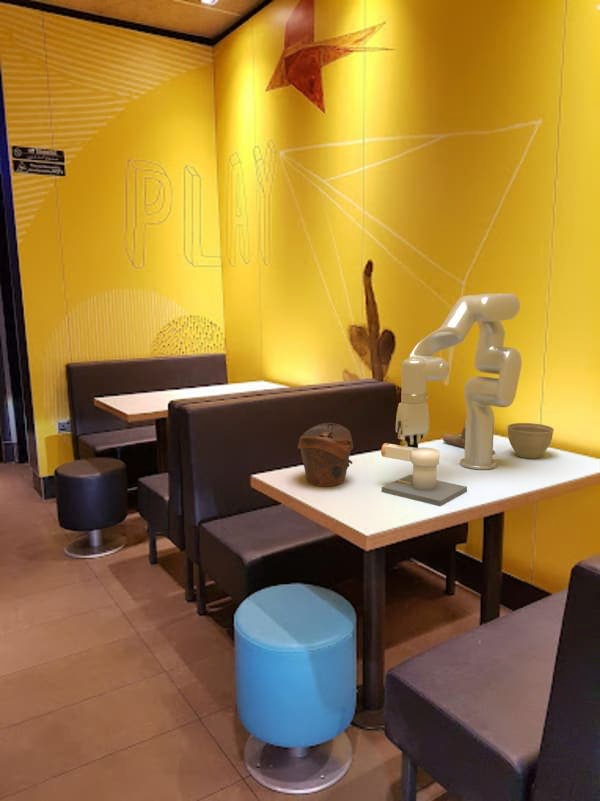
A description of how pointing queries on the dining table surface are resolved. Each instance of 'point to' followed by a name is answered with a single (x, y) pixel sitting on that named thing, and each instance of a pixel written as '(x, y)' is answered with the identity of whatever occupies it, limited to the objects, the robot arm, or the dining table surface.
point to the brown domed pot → (326, 454)
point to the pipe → (456, 438)
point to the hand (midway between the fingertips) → (412, 455)
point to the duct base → (425, 495)
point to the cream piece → (411, 454)
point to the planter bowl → (529, 439)
